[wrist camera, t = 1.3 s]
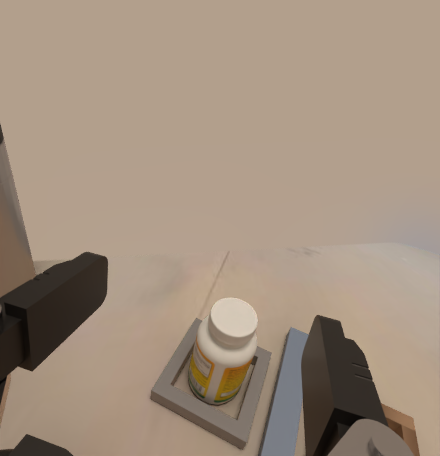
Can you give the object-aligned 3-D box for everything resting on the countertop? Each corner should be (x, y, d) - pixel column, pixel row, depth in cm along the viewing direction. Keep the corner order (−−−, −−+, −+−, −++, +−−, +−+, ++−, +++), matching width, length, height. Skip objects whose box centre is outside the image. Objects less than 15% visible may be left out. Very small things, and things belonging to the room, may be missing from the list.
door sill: (274, 550, 20) (281, 545, 19) (240, 529, 20) (245, 523, 19) (307, 343, 34) (311, 336, 33) (287, 334, 35) (290, 326, 34)
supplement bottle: (179, 395, 27) (192, 331, 22) (197, 347, 31) (210, 283, 26) (235, 415, 26) (262, 353, 21) (244, 362, 31) (268, 301, 26)
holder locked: (302, 483, 23) (309, 476, 22) (314, 382, 30) (319, 374, 29) (423, 550, 21) (435, 545, 20) (404, 425, 28) (413, 418, 27)
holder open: (150, 398, 26) (151, 390, 25) (194, 326, 33) (196, 317, 33) (242, 450, 24) (246, 442, 23) (267, 360, 31) (271, 352, 31)
